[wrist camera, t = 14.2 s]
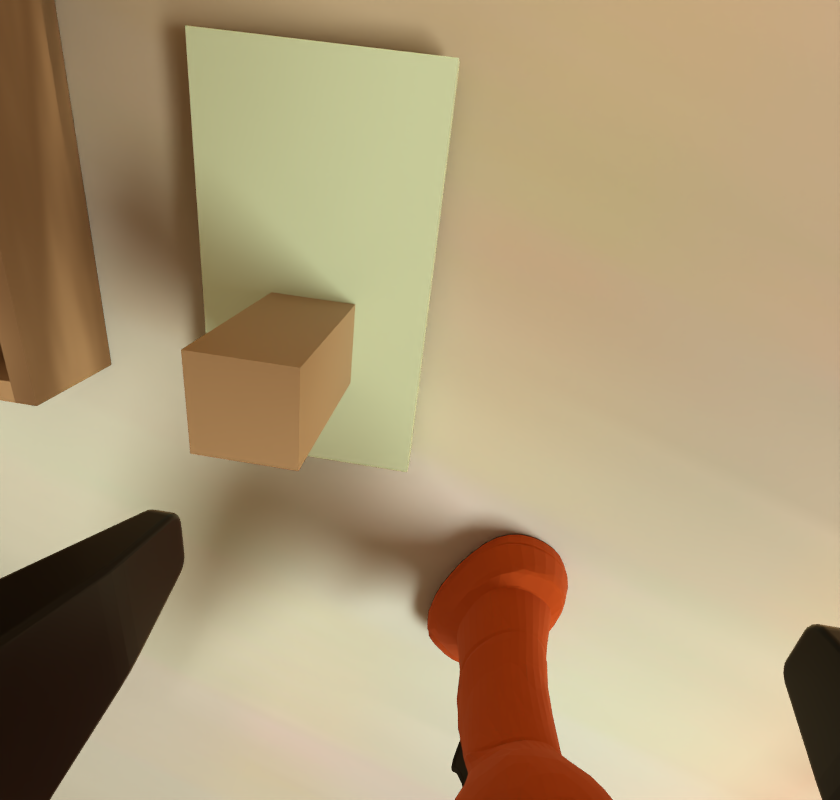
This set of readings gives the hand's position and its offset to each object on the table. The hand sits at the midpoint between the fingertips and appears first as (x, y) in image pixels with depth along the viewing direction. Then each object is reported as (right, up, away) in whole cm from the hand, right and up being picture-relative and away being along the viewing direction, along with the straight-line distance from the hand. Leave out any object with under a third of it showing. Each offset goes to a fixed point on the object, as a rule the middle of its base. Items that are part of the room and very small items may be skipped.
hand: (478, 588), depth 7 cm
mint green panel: (-4, +7, +11) cm, 14 cm away
